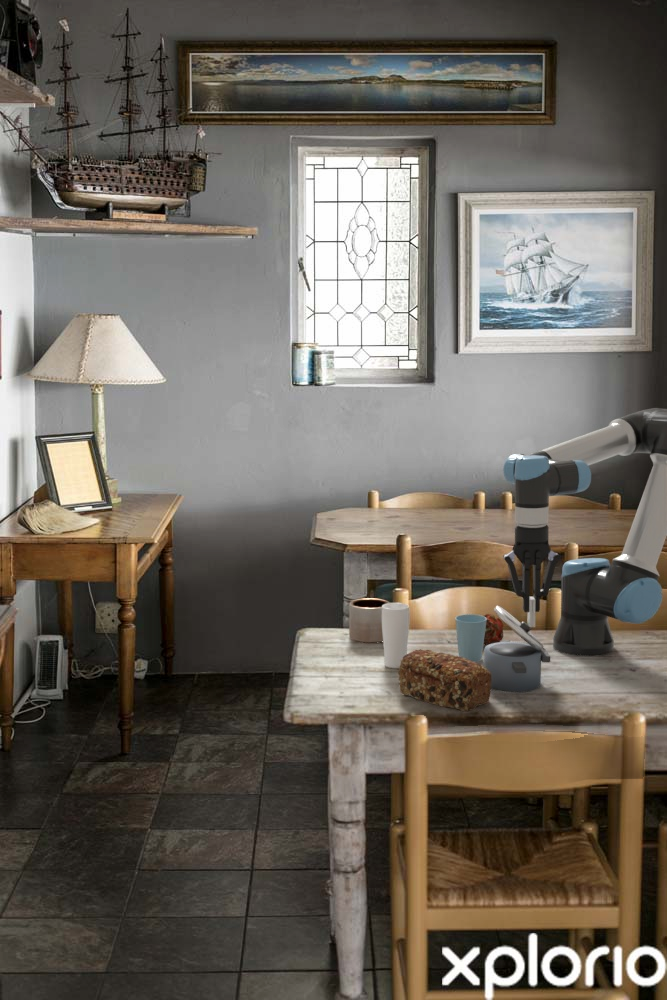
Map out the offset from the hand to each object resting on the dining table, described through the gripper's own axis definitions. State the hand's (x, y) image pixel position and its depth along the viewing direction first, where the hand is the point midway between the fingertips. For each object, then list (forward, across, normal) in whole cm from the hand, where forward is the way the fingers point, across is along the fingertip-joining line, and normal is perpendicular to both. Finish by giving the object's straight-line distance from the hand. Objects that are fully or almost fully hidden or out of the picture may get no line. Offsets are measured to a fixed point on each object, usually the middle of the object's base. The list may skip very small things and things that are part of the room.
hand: (531, 625), depth 257 cm
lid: (+1, +3, 0) cm, 3 cm away
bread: (+14, +21, +9) cm, 27 cm away
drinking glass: (+13, +30, -14) cm, 36 cm away
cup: (+14, +11, -19) cm, 26 cm away
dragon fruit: (+14, +5, -32) cm, 35 cm away
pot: (+14, +4, 0) cm, 14 cm away
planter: (+13, +35, -38) cm, 54 cm away
